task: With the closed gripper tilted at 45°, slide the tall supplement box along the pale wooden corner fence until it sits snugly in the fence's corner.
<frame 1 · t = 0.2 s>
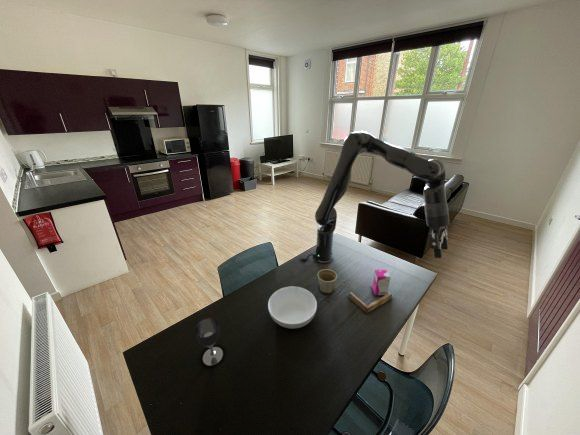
hand: (441, 253, 92), 31 cm above the table, tool tilted 20°, fingers open, 8 cm apart
wine glass: (213, 356, 87), on the table
serving bowl: (292, 315, 104), on the table
flower pot: (326, 289, 119), on the table
supplement box: (379, 292, 117), on the table
corner fence: (365, 302, 111), on the table
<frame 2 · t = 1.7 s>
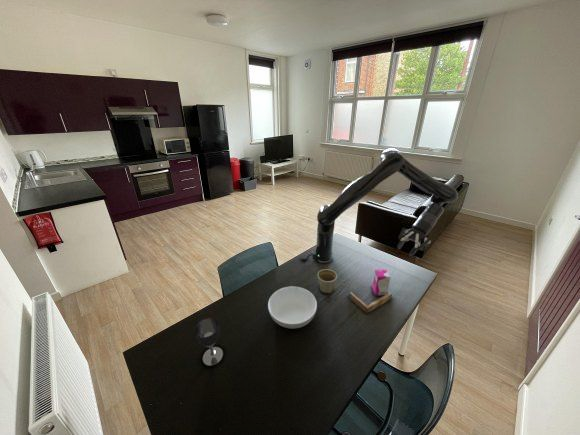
hand: (404, 251, 112), 20 cm above the table, tool tilted 45°, fingers open, 5 cm apart
nothing on the table moved.
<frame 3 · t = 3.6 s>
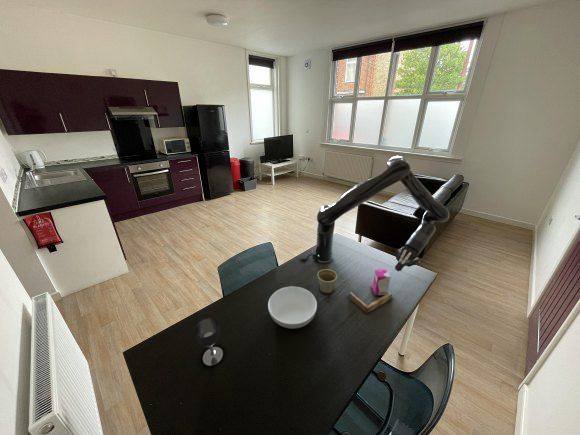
hand: (396, 270, 115), 10 cm above the table, tool tilted 45°, fingers closed
nothing on the table moved.
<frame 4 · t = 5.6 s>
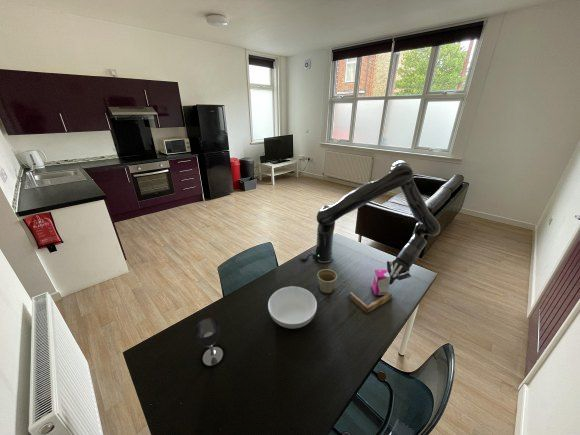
hand: (388, 283, 115), 5 cm above the table, tool tilted 45°, fingers closed
supplement box: (379, 292, 117), on the table, touching gripper
everything else where it was.
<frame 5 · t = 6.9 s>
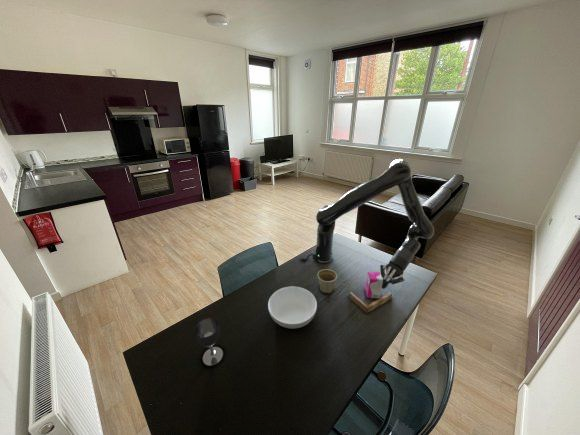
hand: (381, 287, 113), 4 cm above the table, tool tilted 45°, fingers closed
supplement box: (372, 294, 115), on the table, touching gripper
everything else where it was.
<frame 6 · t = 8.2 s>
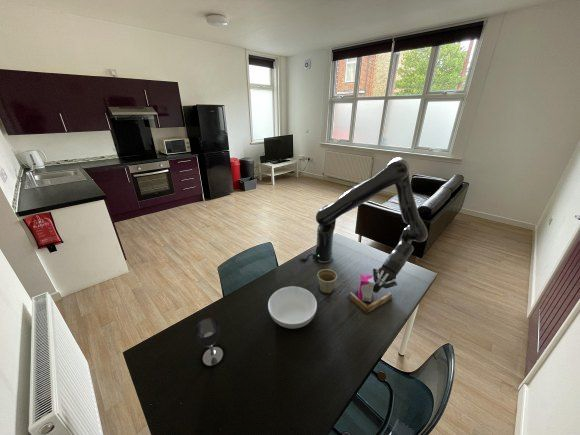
hand: (374, 292, 111), 4 cm above the table, tool tilted 45°, fingers closed
supplement box: (364, 297, 114), on the table, touching gripper
everything else where it was.
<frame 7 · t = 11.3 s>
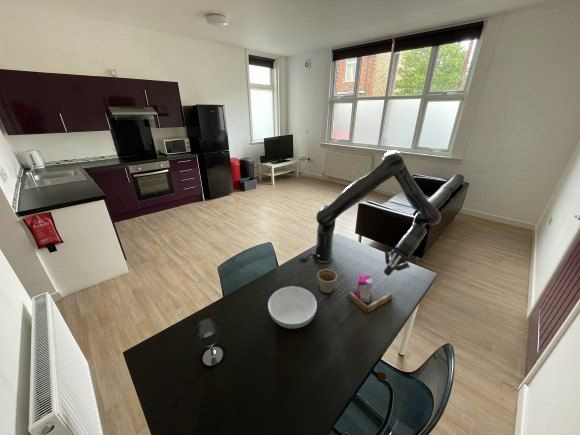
hand: (385, 274, 111), 11 cm above the table, tool tilted 45°, fingers closed
supplement box: (362, 298, 113), on the table
everything else where it was.
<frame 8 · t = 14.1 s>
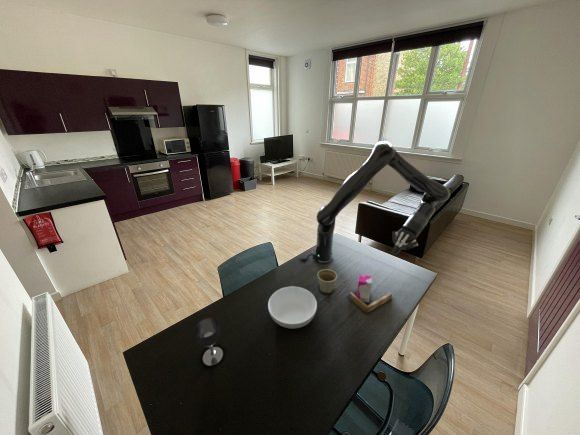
hand: (393, 253, 108), 22 cm above the table, tool tilted 45°, fingers closed
nothing on the table moved.
at the end: supplement box 3.0 cm from the corner fence (horizontally); supplement box tilted 0°; the gripper is holding nothing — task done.
